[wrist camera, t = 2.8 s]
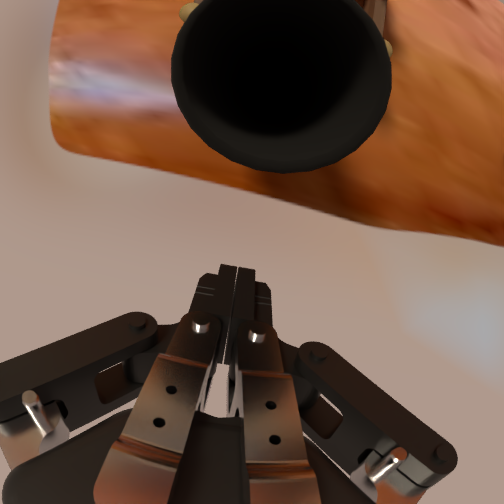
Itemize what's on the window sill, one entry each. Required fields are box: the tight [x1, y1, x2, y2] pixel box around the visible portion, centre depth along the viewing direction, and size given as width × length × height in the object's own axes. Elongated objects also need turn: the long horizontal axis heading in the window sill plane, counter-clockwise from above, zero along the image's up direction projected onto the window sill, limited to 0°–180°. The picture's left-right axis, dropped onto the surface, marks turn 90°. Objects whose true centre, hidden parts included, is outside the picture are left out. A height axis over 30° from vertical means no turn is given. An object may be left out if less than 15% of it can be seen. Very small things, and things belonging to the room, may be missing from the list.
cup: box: [171, 0, 392, 174], centre depth 14 cm, size 8×8×12 cm
